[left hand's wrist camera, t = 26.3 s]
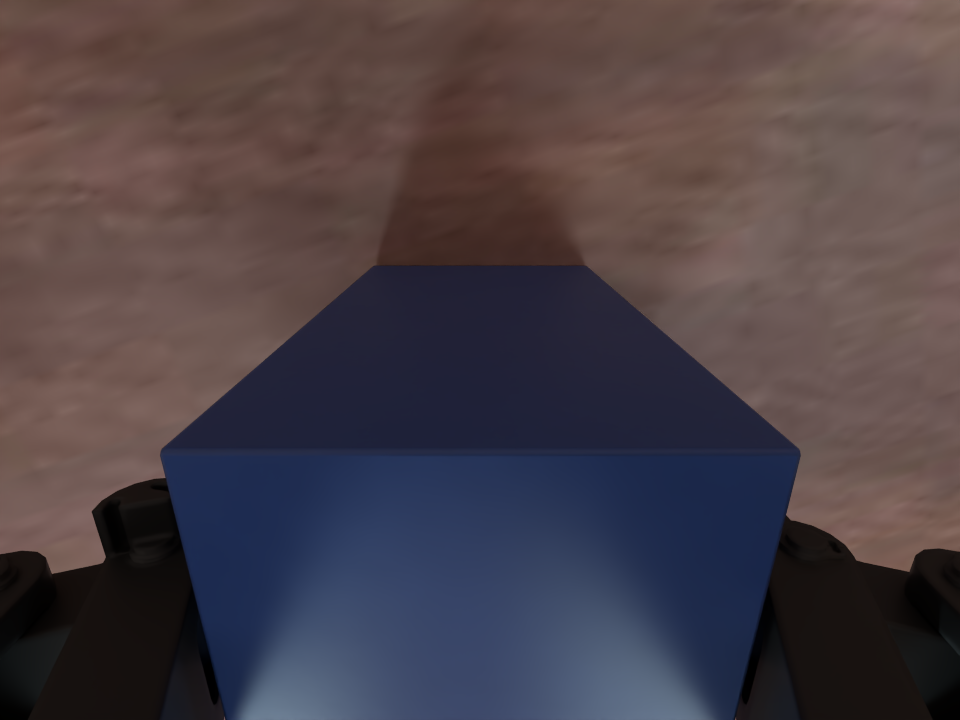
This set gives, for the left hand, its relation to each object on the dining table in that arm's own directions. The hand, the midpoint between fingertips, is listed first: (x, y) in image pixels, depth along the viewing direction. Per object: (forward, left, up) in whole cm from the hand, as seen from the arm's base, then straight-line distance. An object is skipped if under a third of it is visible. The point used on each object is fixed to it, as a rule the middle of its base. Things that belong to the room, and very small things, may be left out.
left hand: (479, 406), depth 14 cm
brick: (0, 0, -3) cm, 3 cm away
